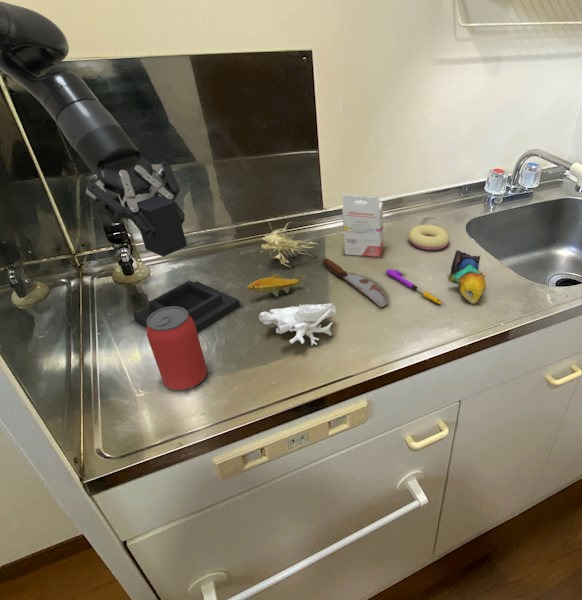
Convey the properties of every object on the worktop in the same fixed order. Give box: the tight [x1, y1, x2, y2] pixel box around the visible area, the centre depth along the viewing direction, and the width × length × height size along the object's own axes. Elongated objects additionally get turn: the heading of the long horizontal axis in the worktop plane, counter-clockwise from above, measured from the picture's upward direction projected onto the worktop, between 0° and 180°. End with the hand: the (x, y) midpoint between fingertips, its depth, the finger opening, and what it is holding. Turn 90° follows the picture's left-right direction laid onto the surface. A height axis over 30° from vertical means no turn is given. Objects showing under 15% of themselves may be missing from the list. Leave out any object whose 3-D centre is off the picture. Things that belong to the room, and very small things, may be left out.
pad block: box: [136, 195, 188, 258], centre depth 77 cm, size 5×5×8 cm
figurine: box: [447, 249, 488, 305], centre depth 97 cm, size 11×8×6 cm, turn 169°
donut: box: [408, 224, 450, 251], centre depth 114 cm, size 10×5×9 cm
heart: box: [258, 303, 337, 346], centre depth 83 cm, size 12×7×12 cm
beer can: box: [146, 306, 208, 391], centre depth 72 cm, size 7×7×12 cm
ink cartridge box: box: [341, 193, 384, 258], centre depth 107 cm, size 9×5×15 cm, turn 83°
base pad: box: [133, 280, 241, 334], centre depth 88 cm, size 14×12×4 cm
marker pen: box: [386, 268, 443, 305], centre depth 98 cm, size 3×1×16 cm
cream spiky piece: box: [261, 221, 318, 268], centre depth 104 cm, size 11×15×9 cm
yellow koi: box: [245, 273, 308, 298], centre depth 94 cm, size 12×2×5 cm, turn 121°
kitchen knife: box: [322, 258, 388, 309], centre depth 99 cm, size 21×2×5 cm
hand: (167, 228), depth 76 cm, fingers closed on pad block, 4 cm apart
